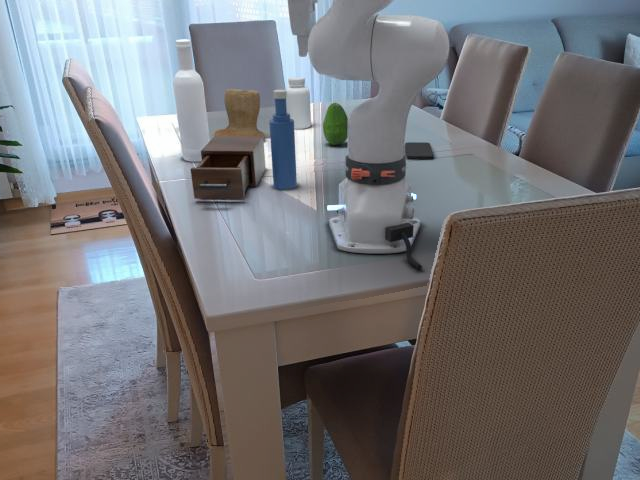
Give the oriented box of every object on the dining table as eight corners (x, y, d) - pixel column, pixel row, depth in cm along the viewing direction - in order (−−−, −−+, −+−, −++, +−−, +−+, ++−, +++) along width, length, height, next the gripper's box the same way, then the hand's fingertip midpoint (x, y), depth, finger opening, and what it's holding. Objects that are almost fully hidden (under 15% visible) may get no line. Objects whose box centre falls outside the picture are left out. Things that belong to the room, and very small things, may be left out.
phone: (407, 156, 176) (404, 142, 189) (406, 159, 176) (404, 145, 189) (434, 156, 176) (429, 142, 189) (433, 159, 176) (429, 145, 189)
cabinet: (255, 186, 156) (253, 151, 151) (204, 186, 156) (200, 150, 152) (265, 169, 169) (263, 136, 164) (218, 169, 169) (214, 135, 165)
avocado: (320, 147, 188) (319, 104, 182) (327, 141, 195) (326, 99, 189) (346, 149, 187) (346, 105, 180) (352, 142, 193) (352, 100, 187)
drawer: (240, 205, 141) (237, 174, 138) (189, 204, 142) (185, 174, 138) (254, 180, 157) (252, 152, 153) (208, 180, 157) (205, 152, 154)
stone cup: (265, 135, 202) (261, 84, 194) (265, 144, 192) (261, 91, 184) (216, 136, 201) (211, 85, 193) (214, 145, 190) (208, 92, 183)
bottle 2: (295, 189, 154) (290, 93, 142) (272, 189, 154) (265, 92, 142) (298, 182, 158) (293, 88, 147) (275, 182, 159) (269, 88, 147)
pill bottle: (283, 125, 213) (280, 77, 206) (305, 123, 216) (304, 75, 209) (291, 130, 207) (289, 80, 200) (314, 127, 210) (313, 79, 202)
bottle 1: (177, 159, 177) (160, 40, 162) (195, 153, 183) (180, 37, 168) (200, 163, 174) (184, 42, 158) (217, 156, 180) (204, 39, 164)
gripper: (294, -15, 150) (296, 49, 157) (282, -14, 133) (286, 59, 140) (321, -16, 150) (322, 49, 157) (313, -14, 132) (315, 59, 139)
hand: (305, 54), depth 148 cm, fingers open, 8 cm apart
